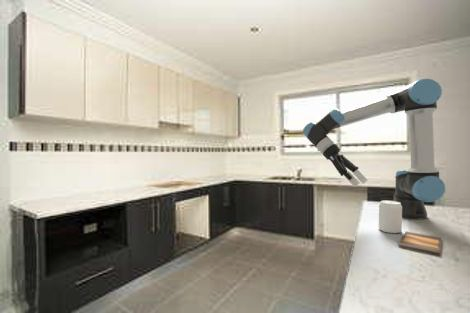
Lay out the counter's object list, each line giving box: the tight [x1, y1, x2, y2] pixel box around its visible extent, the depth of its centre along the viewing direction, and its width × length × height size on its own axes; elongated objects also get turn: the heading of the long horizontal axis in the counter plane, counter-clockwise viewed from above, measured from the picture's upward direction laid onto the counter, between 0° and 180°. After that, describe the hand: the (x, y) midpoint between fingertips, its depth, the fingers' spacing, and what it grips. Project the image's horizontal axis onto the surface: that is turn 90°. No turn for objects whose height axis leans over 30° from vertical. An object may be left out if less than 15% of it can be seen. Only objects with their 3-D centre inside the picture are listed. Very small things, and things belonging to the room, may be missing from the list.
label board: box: [398, 231, 442, 257], centre depth 90 cm, size 18×11×1 cm, turn 139°
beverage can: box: [378, 199, 403, 234], centre depth 104 cm, size 8×8×12 cm
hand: (361, 183), depth 110 cm, fingers open, 13 cm apart
